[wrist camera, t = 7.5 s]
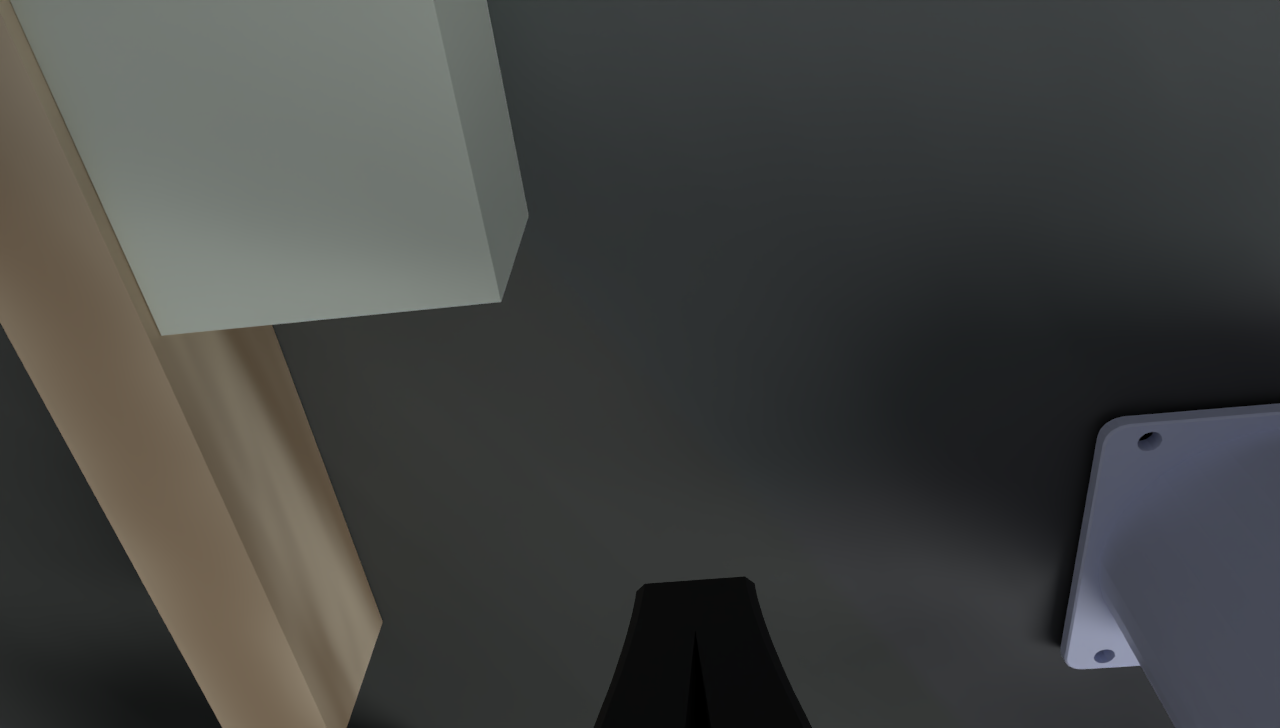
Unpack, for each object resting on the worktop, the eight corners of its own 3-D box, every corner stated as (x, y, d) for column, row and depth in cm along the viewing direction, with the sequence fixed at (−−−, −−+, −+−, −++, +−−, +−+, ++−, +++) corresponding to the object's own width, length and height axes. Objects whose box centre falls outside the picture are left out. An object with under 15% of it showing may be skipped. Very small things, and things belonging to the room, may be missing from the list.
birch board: (-13, -439, 13) (-245, -525, 10) (382, 621, 25) (337, 752, 21) (-165, -413, 14) (-443, -488, 10) (297, 627, 25) (238, 758, 21)
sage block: (439, -256, 15) (371, -274, 11) (530, 211, 19) (501, 302, 15) (84, -203, 15) (-84, -205, 12) (250, 241, 19) (161, 335, 16)
